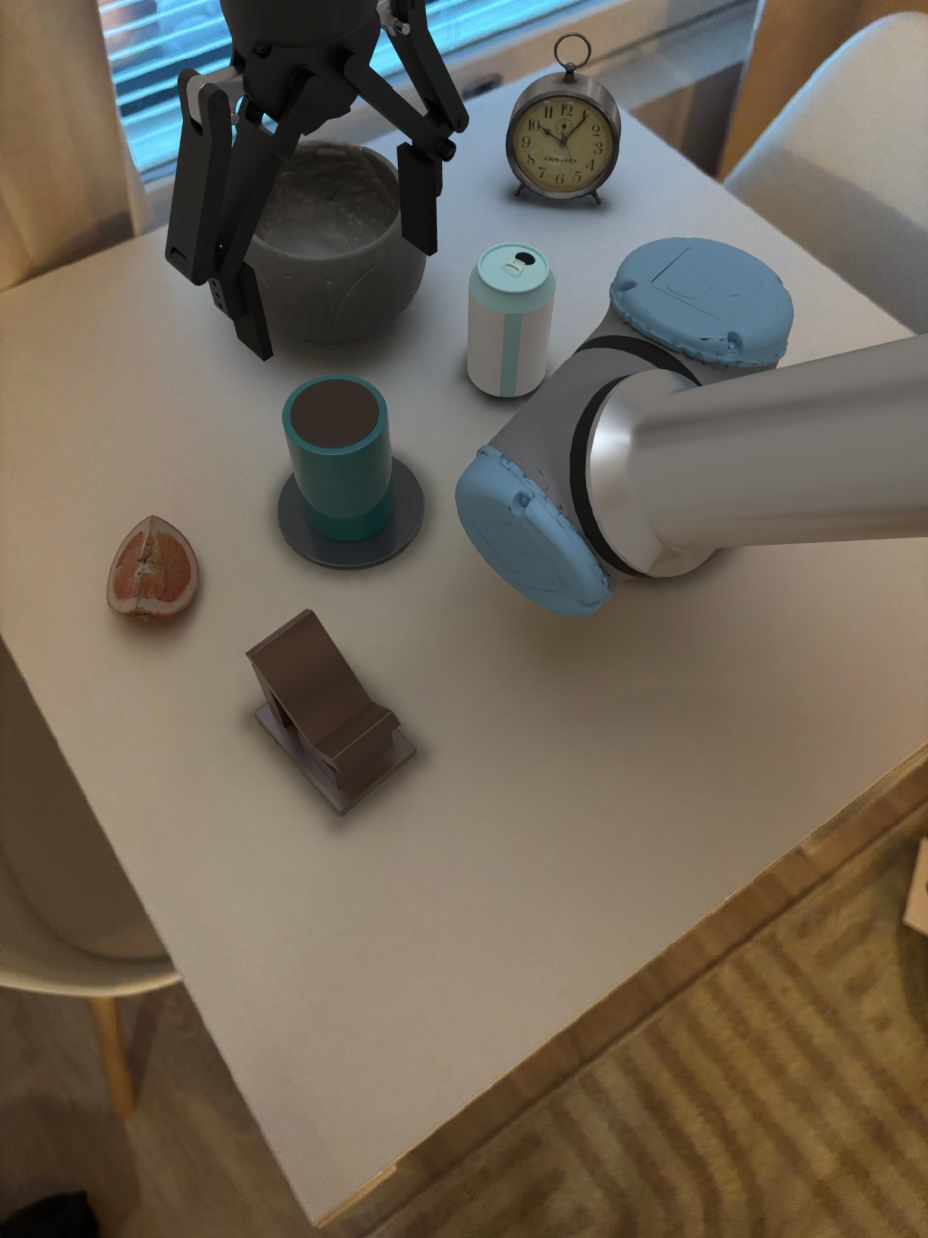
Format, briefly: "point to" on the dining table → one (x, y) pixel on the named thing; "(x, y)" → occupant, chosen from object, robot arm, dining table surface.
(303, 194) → the bowl
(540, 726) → the dining table surface
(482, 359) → the can
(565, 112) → the alarm clock
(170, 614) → the fruit slice
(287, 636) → the cradle
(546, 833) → the dining table surface
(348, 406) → the cup
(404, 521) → the coaster
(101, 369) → the dining table surface
